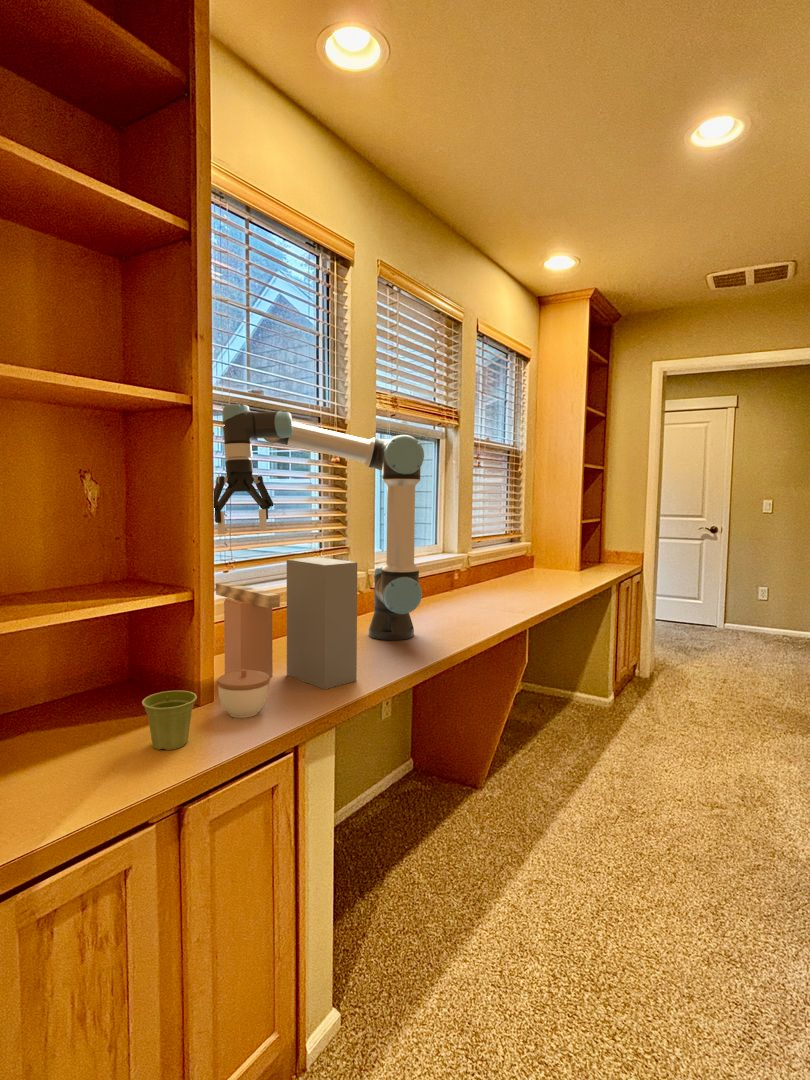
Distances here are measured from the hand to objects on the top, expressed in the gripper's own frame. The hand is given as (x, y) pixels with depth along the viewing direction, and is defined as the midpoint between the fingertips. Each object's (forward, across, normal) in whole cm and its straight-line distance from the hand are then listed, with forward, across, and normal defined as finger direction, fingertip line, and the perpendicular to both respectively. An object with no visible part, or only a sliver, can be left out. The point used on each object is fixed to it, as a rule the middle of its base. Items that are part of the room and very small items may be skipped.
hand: (243, 532), depth 174 cm
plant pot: (+36, +46, +47) cm, 75 cm away
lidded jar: (+36, +28, +43) cm, 62 cm away
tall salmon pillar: (+36, +13, +21) cm, 43 cm away
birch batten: (+16, +13, +21) cm, 29 cm away
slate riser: (+36, +1, +35) cm, 50 cm away
